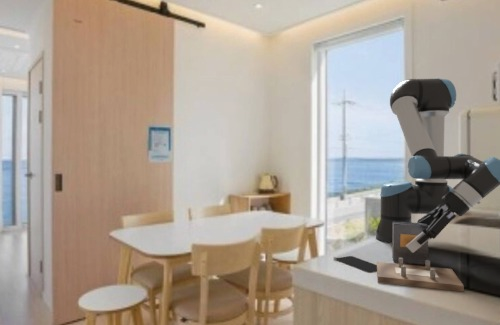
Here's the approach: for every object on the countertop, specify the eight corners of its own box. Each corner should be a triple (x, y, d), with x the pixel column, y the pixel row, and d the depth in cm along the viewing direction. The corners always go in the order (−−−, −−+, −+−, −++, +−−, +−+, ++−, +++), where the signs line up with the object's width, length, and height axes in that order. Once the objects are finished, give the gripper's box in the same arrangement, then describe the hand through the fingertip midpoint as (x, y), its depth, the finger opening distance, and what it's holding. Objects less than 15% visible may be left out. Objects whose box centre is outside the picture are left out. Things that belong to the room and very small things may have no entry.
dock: (451, 274, 101) (451, 260, 101) (463, 291, 88) (463, 275, 88) (376, 266, 107) (376, 253, 107) (377, 282, 94) (377, 267, 94)
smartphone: (368, 272, 101) (334, 258, 115) (368, 274, 101) (334, 260, 115) (387, 268, 105) (351, 255, 118) (387, 270, 105) (351, 257, 118)
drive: (425, 260, 114) (426, 223, 114) (428, 265, 110) (428, 226, 110) (392, 257, 118) (392, 221, 118) (393, 261, 113) (393, 224, 113)
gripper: (483, 214, 96) (421, 264, 101) (459, 203, 120) (411, 244, 124) (461, 194, 98) (401, 244, 102) (442, 187, 121) (394, 228, 126)
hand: (406, 244), depth 113 cm, fingers open, 13 cm apart
